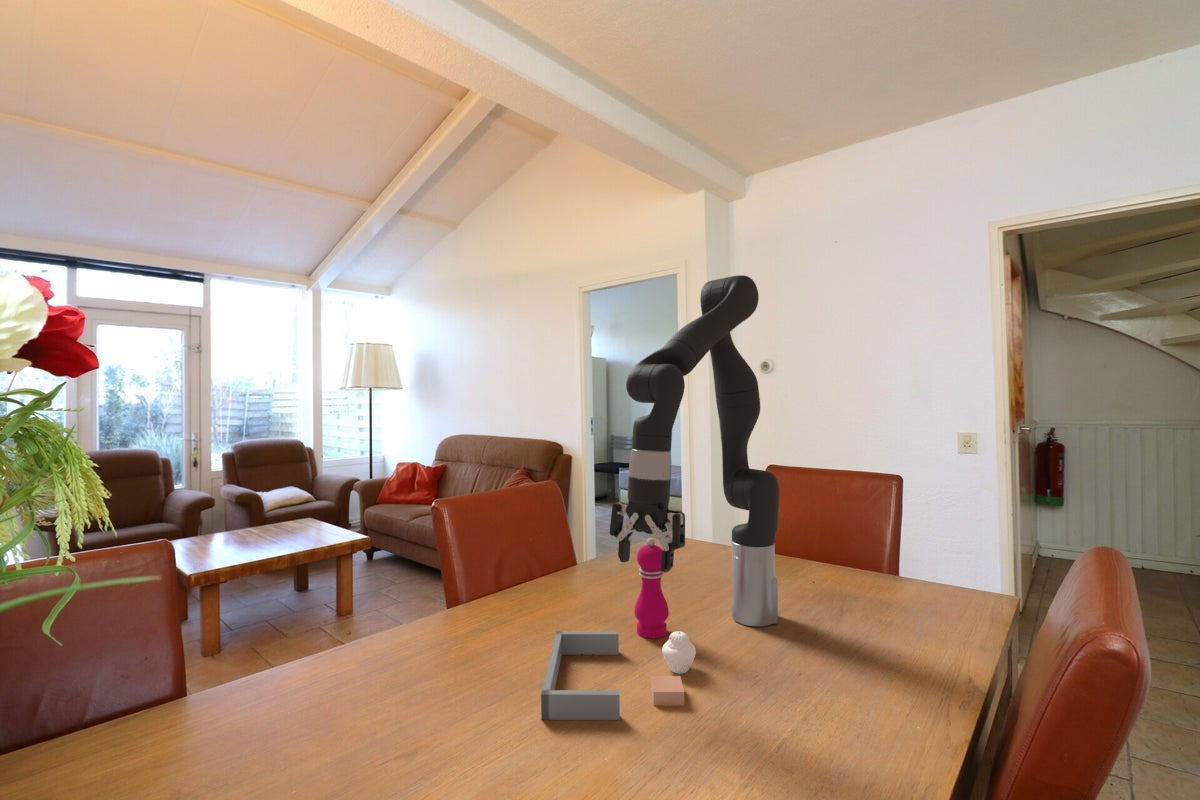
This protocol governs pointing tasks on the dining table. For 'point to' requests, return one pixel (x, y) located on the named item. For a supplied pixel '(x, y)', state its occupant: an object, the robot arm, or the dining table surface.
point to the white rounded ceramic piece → (679, 652)
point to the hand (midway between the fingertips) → (644, 566)
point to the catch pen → (579, 701)
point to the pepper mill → (651, 593)
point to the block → (667, 690)
